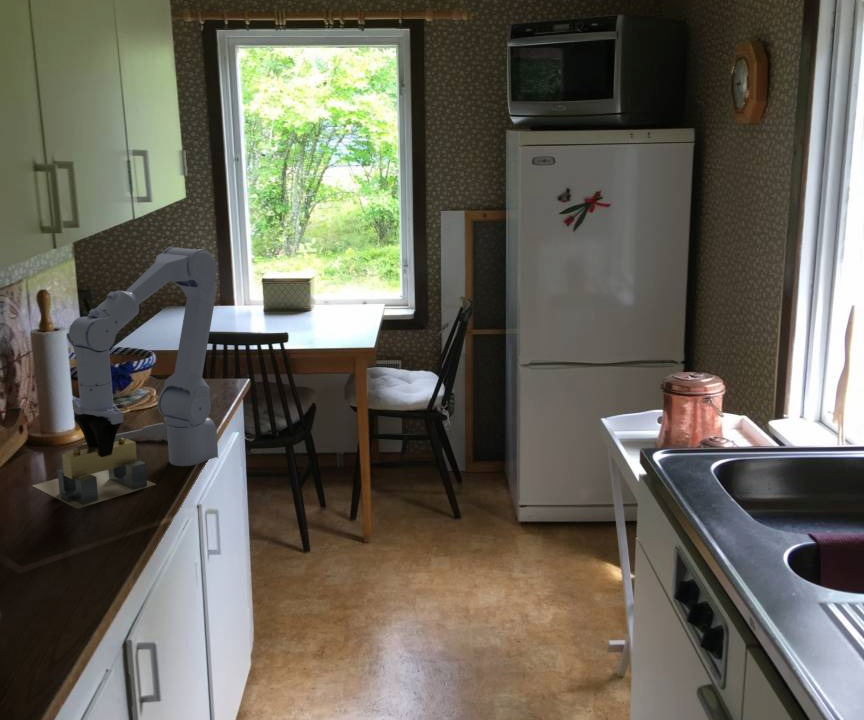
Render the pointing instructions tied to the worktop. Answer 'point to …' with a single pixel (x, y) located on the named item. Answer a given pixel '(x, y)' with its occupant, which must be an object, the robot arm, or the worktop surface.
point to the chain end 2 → (130, 475)
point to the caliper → (145, 432)
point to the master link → (98, 459)
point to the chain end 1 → (78, 488)
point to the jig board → (104, 487)
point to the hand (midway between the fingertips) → (100, 453)
